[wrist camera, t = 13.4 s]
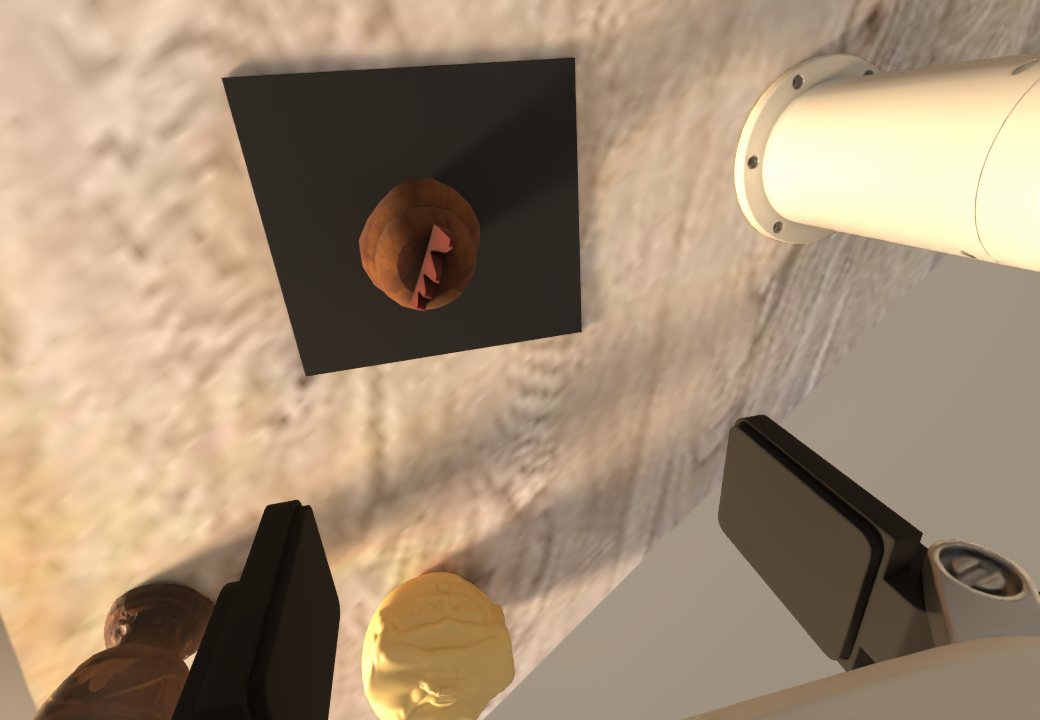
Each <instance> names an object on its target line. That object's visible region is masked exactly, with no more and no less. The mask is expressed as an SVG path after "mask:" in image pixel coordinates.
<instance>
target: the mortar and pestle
mask: <svg viewBox="0 0 1040 720" xmlns="http://www.w3.org/2000/svg"><path fill="white" fill-rule="evenodd" d="M213 610H214V605H213V604H212V602H211V601H210V600H209V599H208V598H206V597H204V596H203V595H201V594H200V593H198V592H196V591H195V590H193V589H190V588H187V587H183V586H178V585H150V586H145V587H139V588H135V589H133V590H131V591H129V592H127V593H125V594H124V595H122V596H121V597H119V598H118V599H117V600H116V601H115V602H114V604H113V606H112V608H111V610H110V612H109V613H108V616H107V619H106V622H105V627H104V640H105V645H106V650H104V651H102V652H99V653H97V654H95V655H93V656H92V657H90V658H89V659H88V660H86V661H85V662H84V663H82V664H81V665H80V666H79V667H78V668H77V669H76V670H75V671H74V672H73V673H72V674H71V675H70V676H69V677H68V678H67V679H66V680H64V681H63V682H62V684H61V685H60V686H59V687H58V688H57V689H56V690H55V691H54V692H53V693H52V695H51V696H50V697H49V698H48V699H47V700H46V701H45V702H44V703H43V704H42V706H41V707H40V709H39V710H38V711H37V713H36V714H35V716H34V717H33V718H32V720H171V718H172V716H173V713H174V710H175V708H176V705H177V703H178V700H179V697H180V695H181V692H182V690H183V687H184V684H185V682H186V679H187V677H188V674H189V669H188V667H187V665H186V664H185V662H184V661H183V660H185V659H186V658H188V657H189V656H190V655H192V654H194V653H195V652H196V651H197V650H198V648H199V646H200V643H201V641H202V638H203V635H204V633H205V630H206V628H207V625H208V622H209V620H210V617H211V615H212V612H213Z"/></svg>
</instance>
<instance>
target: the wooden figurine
mask: <svg viewBox="0 0 1040 720" xmlns="http://www.w3.org/2000/svg"><path fill="white" fill-rule="evenodd" d="M359 246H360V253H361V259H362V265H363V268H364V269H365V271H366V272H367V274H368V276H369V277H370V279H371V280H372V282H373V284H374V285H375V286H376V287H378V288H379V289H381V290H382V291H383V292H385V293H386V295H387V296H389V297H390V298H391V299H393V300H394V301H396V302H397V303H399V304H400V305H401V306H405V307H408V308H412V309H416V310H422V311H425V310H428V309H436V308H439V307H441V306H444V305H446V304H448V303H450V302H452V301H453V300H455V299H456V298H457V297H458V296H460V295H461V294H462V293H463V292H464V290H465V288H466V287H467V285H468V283H469V282H470V280H471V278H472V275H473V272H474V268H475V265H476V252H477V250H478V248H479V246H480V222H479V220H478V218H477V216H476V215H475V213H474V211H473V209H472V207H471V206H470V204H469V203H468V202H467V201H466V200H465V199H464V198H463V197H462V196H461V195H460V194H459V193H458V192H457V191H456V190H454V189H453V188H452V187H450V186H448V185H445V184H443V183H441V182H439V181H436V180H434V179H432V178H408V179H406V180H405V181H403V182H402V183H400V184H399V185H398V186H396V187H395V188H393V189H392V190H391V191H390V192H389V193H388V194H387V195H386V196H385V197H384V198H383V199H382V200H381V201H380V203H379V204H378V205H377V206H376V208H375V209H374V211H373V212H372V214H371V215H370V217H369V218H368V220H367V222H366V224H365V227H364V229H363V232H362V234H361V237H360V239H359Z"/></svg>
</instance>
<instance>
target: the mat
mask: <svg viewBox="0 0 1040 720" xmlns="http://www.w3.org/2000/svg"><path fill="white" fill-rule="evenodd" d="M222 81H223V84H224V88H225V92H226V95H227V99H228V102H229V106H230V109H231V113H232V116H233V120H234V123H235V127H236V130H237V134H238V138H239V141H240V145H241V148H242V152H243V155H244V159H245V162H246V166H247V169H248V173H249V176H250V180H251V184H252V187H253V191H254V194H255V198H256V201H257V205H258V208H259V212H260V215H261V219H262V222H263V226H264V230H265V233H266V237H267V240H268V244H269V247H270V251H271V254H272V258H273V261H274V265H275V268H276V272H277V276H278V279H279V283H280V286H281V290H282V293H283V297H284V300H285V304H286V307H287V311H288V314H289V318H290V322H291V325H292V329H293V332H294V336H295V339H296V343H297V346H298V350H299V353H300V357H301V360H302V364H303V368H304V371H305V375H306V376H312V375H318V374H324V373H330V372H336V371H342V370H349V369H355V368H361V367H367V366H373V365H380V364H386V363H392V362H398V361H404V360H411V359H417V358H423V357H429V356H435V355H442V354H448V353H454V352H460V351H466V350H473V349H479V348H485V347H491V346H497V345H504V344H510V343H516V342H522V341H528V340H534V339H541V338H547V337H553V336H559V335H565V334H572V333H578V332H582V328H581V288H580V249H579V209H578V169H577V130H576V90H575V58H563V59H546V60H528V61H511V62H493V63H476V64H458V65H441V66H423V67H406V68H388V69H371V70H353V71H335V72H318V73H300V74H283V75H265V76H248V77H230V78H222ZM408 178H432V179H434V180H436V181H439V182H441V183H443V184H445V185H448V186H450V187H452V188H453V189H454V190H456V191H457V192H458V193H459V194H460V195H461V196H462V197H463V198H464V199H465V200H466V201H467V202H468V203H469V204H470V206H471V207H472V209H473V211H474V213H475V215H476V216H477V218H478V220H479V222H480V246H479V248H478V250H477V252H476V265H475V268H474V272H473V275H472V278H471V280H470V282H469V283H468V285H467V287H466V288H465V290H464V292H463V293H462V294H461V295H460V296H458V297H457V298H456V299H455V300H453V301H452V302H450V303H448V304H446V305H444V306H441V307H439V308H436V309H428V310H425V311H422V310H416V309H412V308H408V307H405V306H401V305H400V304H399V303H397V302H396V301H394V300H393V299H391V298H390V297H389V296H387V295H386V293H385V292H383V291H382V290H381V289H379V288H378V287H376V286H375V285H374V284H373V282H372V280H371V279H370V277H369V276H368V274H367V272H366V271H365V269H364V268H363V265H362V259H361V253H360V246H359V239H360V237H361V234H362V232H363V229H364V227H365V224H366V222H367V220H368V218H369V217H370V215H371V214H372V212H373V211H374V209H375V208H376V206H377V205H378V204H379V203H380V201H381V200H382V199H383V198H384V197H385V196H386V195H387V194H388V193H389V192H390V191H391V190H392V189H393V188H395V187H396V186H398V185H399V184H400V183H402V182H403V181H405V180H406V179H408Z"/></svg>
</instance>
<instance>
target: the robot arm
mask: <svg viewBox="0 0 1040 720" xmlns="http://www.w3.org/2000/svg"><path fill="white" fill-rule="evenodd" d="M735 187H736V192H737V197H738V201H739V203H740V206H741V208H742V211H743V213H744V215H745V216H746V218H747V219H748V220H749V222H750V223H751V225H752V226H753V227H754V228H756V229H757V230H758V231H759V232H760V233H761V234H763V235H765V236H767V237H769V238H771V239H774V240H778V241H781V242H785V243H794V244H803V243H810V242H814V241H817V240H820V239H823V238H826V237H828V236H830V235H831V234H833V233H835V232H837V231H840V232H845V233H850V234H855V235H860V236H865V237H869V238H874V239H879V240H884V241H889V242H894V243H899V244H904V245H909V246H914V247H919V248H923V249H928V250H933V251H938V252H943V253H948V254H953V255H958V256H963V257H968V258H973V259H978V260H982V261H987V262H993V263H997V264H1003V265H1007V266H1013V267H1018V268H1024V269H1028V270H1033V271H1040V52H1035V53H1028V54H1021V55H1013V56H1006V57H998V58H991V59H984V60H976V61H969V62H961V63H954V64H947V65H939V66H932V67H924V68H917V69H909V70H902V71H895V72H887V73H880V71H879V70H878V69H877V68H876V67H875V66H874V65H872V64H871V63H870V62H868V61H867V60H866V59H863V58H860V57H858V56H855V55H852V54H839V53H836V54H830V55H824V56H819V57H815V58H812V59H809V60H806V61H803V62H801V63H800V64H798V65H796V66H794V67H792V68H791V69H789V70H788V71H786V72H785V73H784V74H783V75H782V76H780V77H779V78H778V79H777V80H775V81H774V82H773V84H772V85H771V86H770V87H769V88H768V89H767V90H766V91H765V93H764V94H763V95H762V96H761V98H760V99H759V101H758V102H757V104H756V105H755V107H754V108H753V110H752V112H751V113H750V116H749V118H748V120H747V122H746V124H745V127H744V129H743V131H742V134H741V138H740V141H739V145H738V148H737V154H736V162H735ZM718 520H719V524H720V527H721V529H722V530H723V532H724V533H725V534H726V536H727V537H728V538H729V539H730V540H731V542H732V543H733V544H734V545H735V546H736V548H737V549H738V550H739V551H740V552H741V554H742V555H743V556H744V557H745V558H746V560H747V561H748V562H749V563H750V564H751V566H752V567H753V568H754V569H755V570H756V572H757V573H758V574H759V575H760V576H761V578H762V579H763V580H764V581H765V583H766V584H767V585H768V586H769V587H770V589H771V590H772V591H773V592H774V593H775V595H776V596H777V597H778V598H779V599H780V600H781V602H782V603H783V604H784V605H785V607H786V608H787V609H788V610H789V611H790V612H791V614H792V615H793V616H794V617H795V619H796V620H797V621H798V622H799V623H800V625H801V626H802V627H803V628H804V629H805V631H806V632H807V633H808V634H809V635H810V637H811V638H812V639H813V640H814V641H815V643H816V644H817V645H818V646H819V647H820V649H821V650H822V651H823V652H824V653H825V654H826V655H827V656H828V657H829V658H830V659H832V660H837V661H838V662H839V664H840V665H841V666H842V667H843V668H844V669H845V671H846V672H844V673H841V674H837V675H833V676H830V677H827V678H823V679H820V680H817V681H813V682H809V683H806V684H803V685H799V686H795V687H792V688H788V689H785V690H782V691H778V692H775V693H771V694H768V695H764V696H761V697H758V698H754V699H750V700H747V701H744V702H740V703H737V704H734V705H730V706H727V707H723V708H720V709H716V710H713V711H710V712H706V713H703V714H700V715H696V716H693V717H689V718H686V719H682V720H1040V592H1038V591H1037V589H1036V586H1035V584H1034V582H1033V581H1032V580H1031V578H1030V577H1029V575H1028V574H1027V573H1026V572H1025V571H1024V570H1023V569H1022V568H1020V567H1019V566H1018V565H1017V564H1016V563H1015V562H1013V561H1011V560H1010V559H1008V558H1006V557H1005V556H1003V555H1002V554H1000V553H998V552H996V551H993V550H991V549H989V548H987V547H985V546H982V545H978V544H975V543H972V542H968V541H962V540H956V539H951V540H950V539H949V540H940V541H937V542H935V543H933V544H932V545H931V546H930V548H929V549H928V548H926V547H925V546H924V545H922V544H921V543H920V540H921V537H922V534H923V533H922V532H921V531H919V530H918V529H917V528H915V527H914V526H913V525H911V524H910V523H909V522H907V521H906V520H905V519H903V518H902V517H901V516H899V515H898V514H897V513H895V512H894V511H892V510H891V509H890V508H889V507H887V506H886V505H885V504H883V503H882V502H880V501H879V500H878V499H877V498H875V497H874V496H872V495H871V494H870V493H869V492H867V491H866V490H865V489H863V488H862V487H860V486H859V485H858V484H857V483H855V482H854V481H853V480H851V479H850V478H849V477H847V476H846V475H844V474H843V473H842V472H840V471H839V470H838V469H836V468H835V467H834V466H833V465H831V464H830V463H829V462H827V461H826V460H825V459H823V458H822V457H821V456H819V455H818V454H816V453H815V452H814V451H812V450H811V449H810V448H809V447H807V446H806V445H805V444H803V443H802V442H800V441H799V440H798V439H797V438H795V437H794V436H793V435H791V434H790V433H789V432H787V431H786V430H785V429H783V428H782V427H781V426H779V425H778V424H777V423H775V422H774V421H773V420H771V419H770V418H769V417H767V416H765V415H757V416H751V417H746V418H740V419H738V420H737V421H736V423H735V426H733V427H731V429H730V432H729V438H728V446H727V453H726V460H725V468H724V475H723V482H722V490H721V497H720V505H719V512H718ZM339 621H340V605H339V599H338V596H337V592H336V589H335V585H334V582H333V579H332V575H331V572H330V568H329V565H328V562H327V558H326V555H325V551H324V548H323V545H322V541H321V538H320V534H319V531H318V527H317V524H316V521H315V517H314V514H313V511H312V508H311V506H310V505H306V506H302V505H301V503H300V501H299V500H293V501H288V502H282V503H277V504H271V505H268V506H266V508H265V510H264V513H263V516H262V519H261V522H260V524H259V527H258V530H257V533H256V536H255V539H254V541H253V544H252V547H251V550H250V553H249V556H248V558H247V561H246V564H245V567H244V570H243V573H242V575H241V578H240V581H237V582H232V583H227V584H226V585H225V586H224V587H223V589H222V590H221V592H220V594H219V597H218V599H217V602H216V604H215V607H214V610H213V612H212V615H211V617H210V620H209V622H208V625H207V628H206V630H205V633H204V635H203V638H202V641H201V643H200V646H199V648H198V651H197V653H196V656H195V659H194V661H193V664H192V666H191V669H190V672H189V674H188V677H187V679H186V682H185V684H184V687H183V690H182V692H181V695H180V697H179V700H178V703H177V705H176V708H175V710H174V713H173V716H172V718H171V720H328V716H329V707H330V699H331V690H332V682H333V673H334V664H335V656H336V647H337V639H338V630H339Z"/></svg>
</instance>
